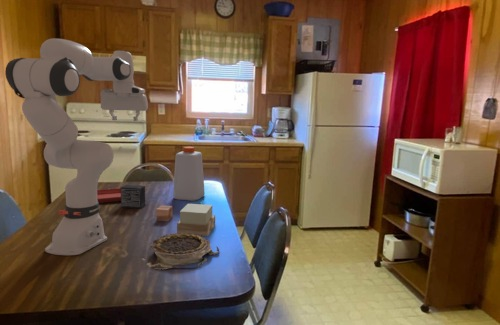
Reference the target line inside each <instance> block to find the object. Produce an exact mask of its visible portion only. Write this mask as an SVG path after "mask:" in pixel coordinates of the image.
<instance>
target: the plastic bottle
mask: <svg viewBox="0 0 500 325" xmlns="http://www.w3.org/2000/svg"><path fill="white" fill-rule="evenodd" d="M182 149H183V150H182V151H180V152H177V153H176V154H175V159H174V160H175V161H174V175H173V176H174V177H173V178H174V179H173V188H172V189H173V192H172V194H173V195H172V197H173V198H174V199H175V200H178V201H179V200H181V201H188V202H195V201H198V200H200V199H201V198H203V197H204V196H205V179H204V166H203V154H202V152H200V151H195V147H194V146H184V147H183V148H182Z"/></svg>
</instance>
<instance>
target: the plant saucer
mask: <svg viewBox="0 0 500 325" xmlns="http://www.w3.org/2000/svg"><path fill="white" fill-rule="evenodd" d="M97 199H98V202H99V204H103V203H115V202H121V189H120V188H108V189H97Z"/></svg>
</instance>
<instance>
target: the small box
mask: <svg viewBox="0 0 500 325" xmlns="http://www.w3.org/2000/svg"><path fill="white" fill-rule="evenodd" d="M120 189H121V201H120V206H121V208H127V209H142V208H144V207H145V206H146V185H138V184H124V185H123V186H120Z"/></svg>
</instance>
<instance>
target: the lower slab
mask: <svg viewBox="0 0 500 325" xmlns="http://www.w3.org/2000/svg"><path fill="white" fill-rule="evenodd" d="M215 226H216V215H214V214H212V217H211V219H210V220H209V221H208V223H207V224H206V225H201V224H187V223H180V220H179V221H178V222H177V223H176V233H195V234H198V235H199V236H202V237H208V236H209V235H210V233H211V232H212V230H213V229H214V227H215Z"/></svg>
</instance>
